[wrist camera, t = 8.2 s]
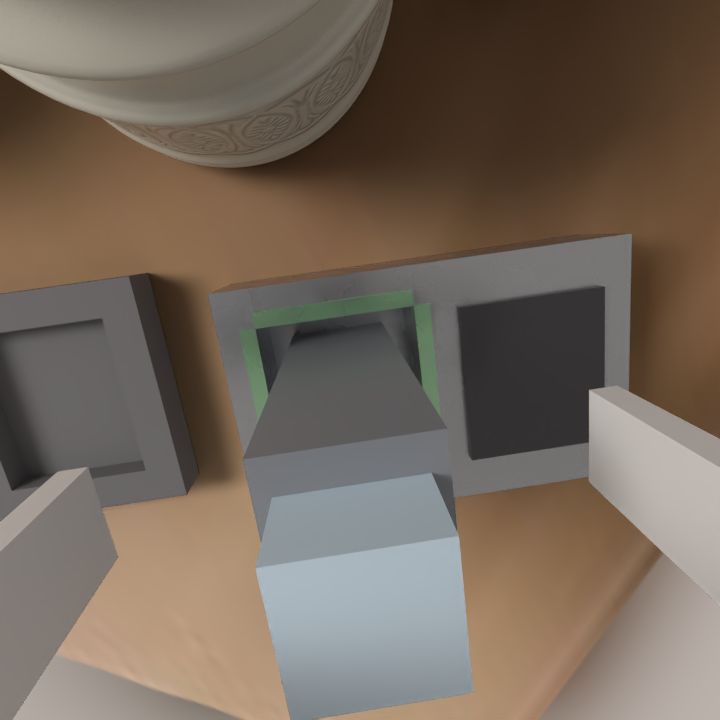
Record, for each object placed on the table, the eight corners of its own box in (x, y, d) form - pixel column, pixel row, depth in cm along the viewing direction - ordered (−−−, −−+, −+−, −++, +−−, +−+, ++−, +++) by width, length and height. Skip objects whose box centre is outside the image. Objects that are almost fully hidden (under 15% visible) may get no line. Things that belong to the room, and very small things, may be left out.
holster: (-57, 301, 20) (-98, 308, 18) (148, 273, 20) (128, 276, 18) (18, 500, 23) (-11, 524, 21) (198, 473, 23) (186, 494, 21)
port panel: (231, 284, 21) (205, 294, 16) (576, 234, 21) (636, 233, 17) (271, 480, 23) (258, 532, 19) (578, 433, 24) (631, 474, 19)
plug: (293, 334, 20) (216, 521, 7) (381, 322, 20) (480, 480, 7) (311, 436, 22) (277, 764, 8) (394, 424, 22) (498, 727, 8)
